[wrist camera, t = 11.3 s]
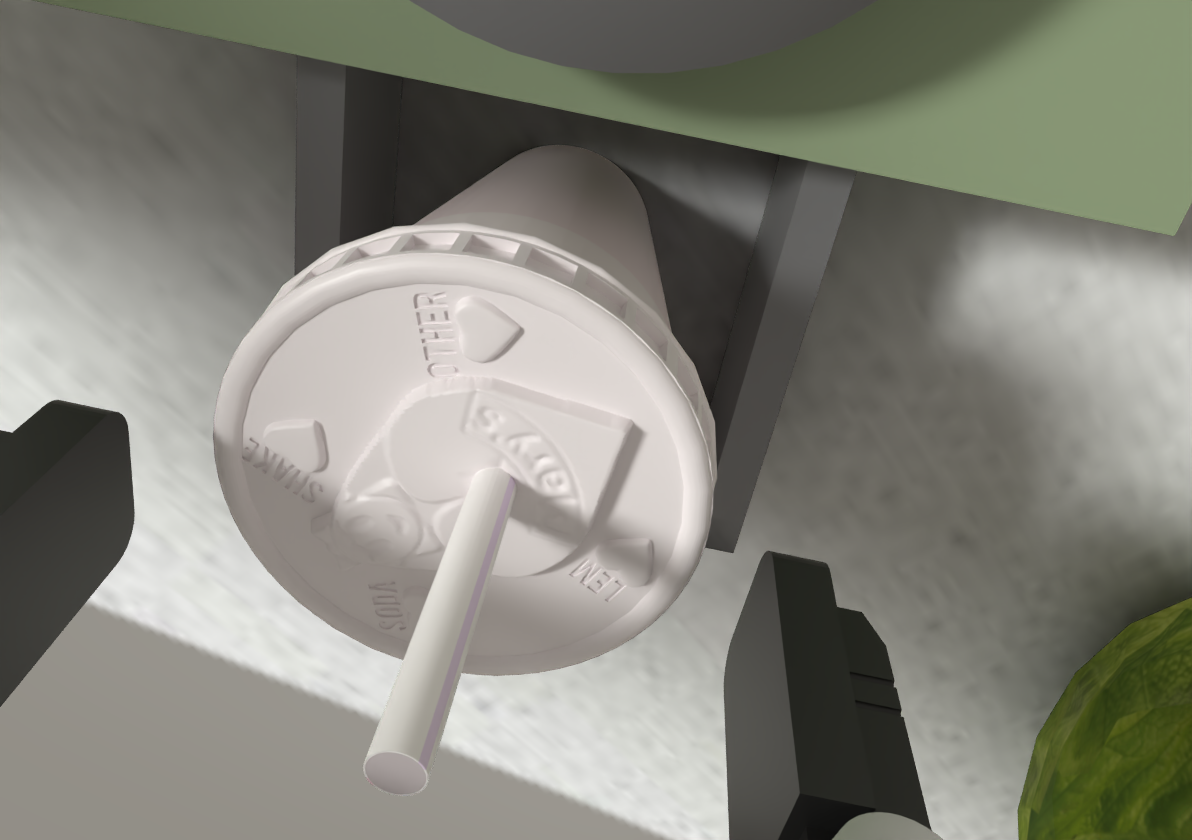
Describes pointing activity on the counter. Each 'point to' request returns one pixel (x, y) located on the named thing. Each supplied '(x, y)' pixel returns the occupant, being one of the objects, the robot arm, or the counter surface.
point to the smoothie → (475, 440)
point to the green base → (753, 121)
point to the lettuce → (1119, 742)
